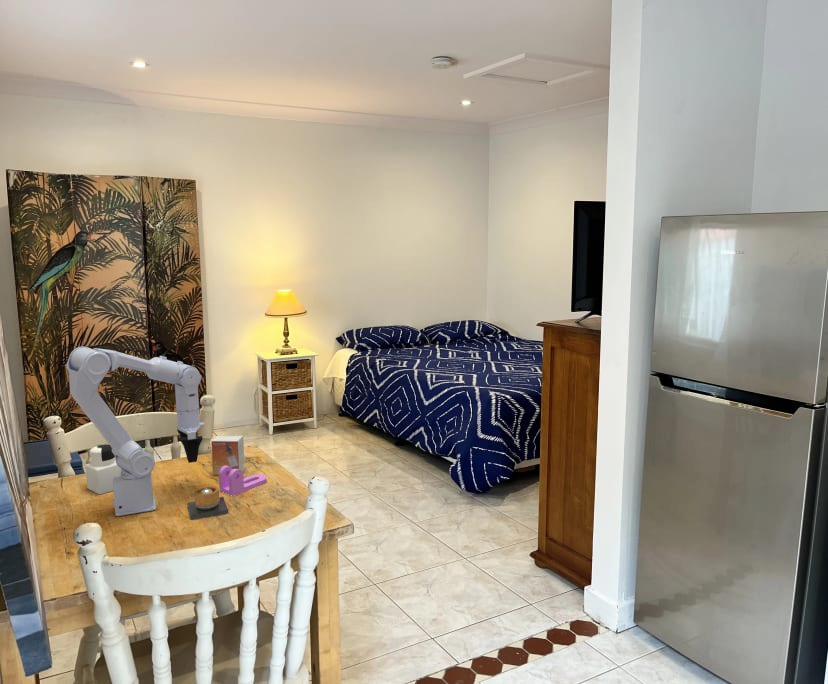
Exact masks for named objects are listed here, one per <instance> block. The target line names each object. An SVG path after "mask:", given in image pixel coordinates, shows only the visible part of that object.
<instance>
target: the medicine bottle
mask: <svg viewBox="0 0 828 684" xmlns="http://www.w3.org/2000/svg"><path fill="white" fill-rule="evenodd" d="M89 453H90V463H87V464H85V467H84V468H85V478H86V487H87V490H90V491H91V492H93V493H96V494H97V495H104V494H106V493H109V492H113V478H114V477H118V476H121V468H120V467H118V465H117V464H116V460H115V455H114V454H113V452H112V447H111V446H110V445H109V444H100V445H95V446H93V447H92V448H91V449H90V452H89Z"/></svg>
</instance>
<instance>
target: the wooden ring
mask: <svg viewBox="0 0 828 684" xmlns="http://www.w3.org/2000/svg"><path fill="white" fill-rule="evenodd" d="M204 489H210V490H212V493H208V494H200V493H201V491H202V490H204ZM219 497H220V488H219V487H217V486H215V485H206V486H201V487H198V488H197V489H195V490H194V501H195V504H196V505H198V506H212V505H214V504H217V503H218V502H219V501H220V500H219Z"/></svg>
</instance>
